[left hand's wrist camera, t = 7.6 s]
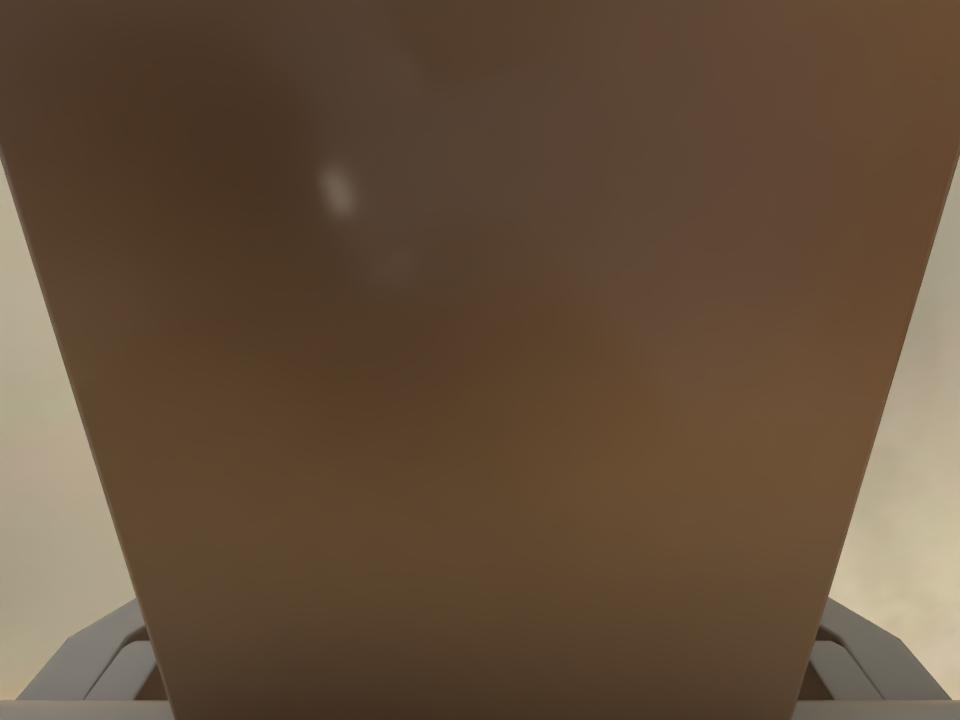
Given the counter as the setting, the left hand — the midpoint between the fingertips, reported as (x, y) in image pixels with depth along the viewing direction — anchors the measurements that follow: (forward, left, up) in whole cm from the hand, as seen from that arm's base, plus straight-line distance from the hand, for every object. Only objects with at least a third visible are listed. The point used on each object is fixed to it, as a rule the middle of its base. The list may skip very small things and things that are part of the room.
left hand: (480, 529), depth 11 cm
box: (+7, 0, -8) cm, 10 cm away
